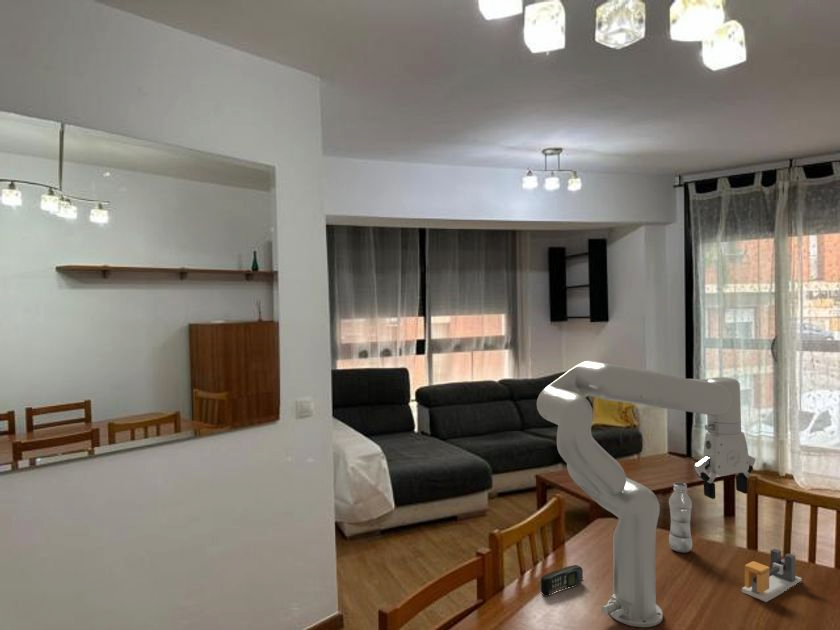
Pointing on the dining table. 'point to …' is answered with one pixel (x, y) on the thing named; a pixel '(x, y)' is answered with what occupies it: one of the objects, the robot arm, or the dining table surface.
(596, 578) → the dining table surface
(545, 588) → the mobile phone
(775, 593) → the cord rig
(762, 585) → the orange bracket
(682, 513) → the plastic bottle
